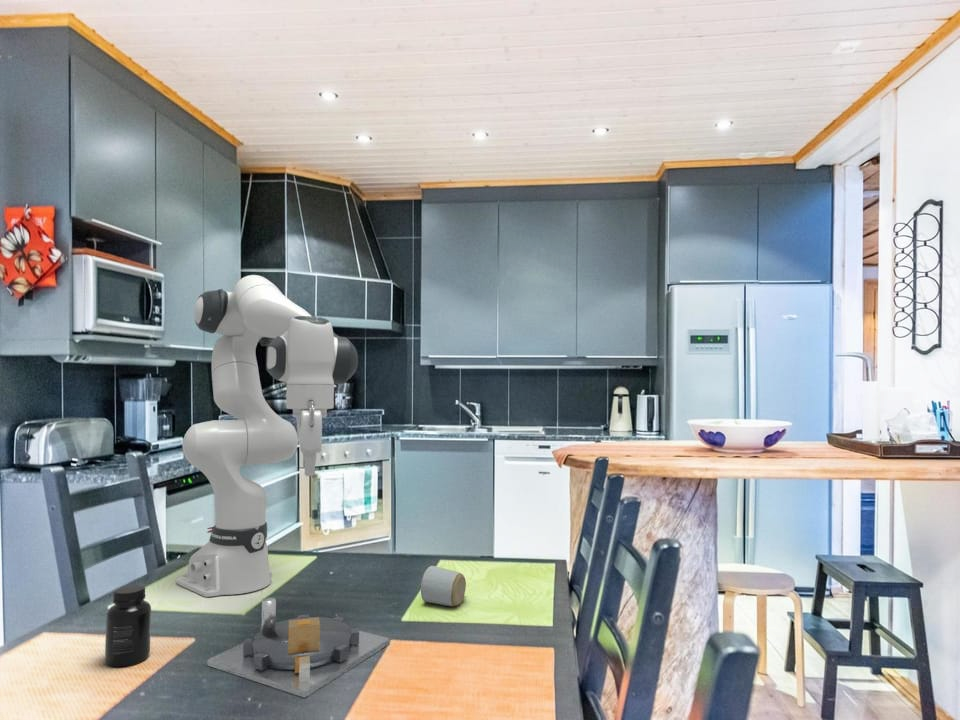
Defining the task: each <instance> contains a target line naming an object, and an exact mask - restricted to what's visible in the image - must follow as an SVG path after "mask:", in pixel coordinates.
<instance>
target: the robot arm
mask: <svg viewBox="0 0 960 720" xmlns="http://www.w3.org/2000/svg"><path fill="white" fill-rule="evenodd" d="M193 307H194V309H193V317H194V322H195V325H196V327H197V328H198V329H199V330H200V331H203V332H206V333H209V334H218V335H221V336H220V337H218V338H217V339H216V340H215V342H214V344H213V348H212V355H211V381H212V392H213V393H212V394H213V401H214V403H215V405H216V406H217V407H218V408H219V409H220V410H221V411H223V412H224V413H227V414H228V415H231V416H233V417H235V418H236V419H217V420H216V419H214V420H207V421H204V422H199V423H194V424H192V425H191V426H190V427H189V428H188V430H187V431H186V433H184V437H183V439H182V453H183V455H184V457H185V459H186V460H187V462H189V464H191V466H192V467H195V468H196V469H197V470H199V471H200V472H201V473H203V475H204V476H205V477H206V478H207V480H208V482H209V484H210V485H211V488H212V490H213V496H214V502H215V504H214V506H215V523H214V524H215V525H214V526H212V527H211V526H210V527H207V528H206V529H207V530H208V531H206V533H207V534H209V533H211V534H210V537H209V539H208V540H209V541H208V542H207V543H205V544H204V545H202V547H200V548H199V549H198V550H197V551H195V553H193V554H192V555H191V556H190V558H189V561H188V566H187V573H184V574H183V575H181V576H179V577H178V578H176V580H175V584H177V585H179V586H180V587H183V588H185V589H187V590H189V591H192V592H193V593H196V594H198V595H200V596H202V597H204V598H208V597H210V598H211V597H218V596H224V595H225V596H226V595H227V596H229V595H241V594H247V593H252V592H256V591H259V590H262V589H265V588H266V587H267V586H269V585H270V584H271V583H272V578H271V576H272V570H271V569H270V563H269V561H270V560H269V552H268V551H269V550H268V543H267V542H266V541H267V537H268V523H267V521H266V507H267V506H266V504H267V503H266V502H267V501H266V499H267V494H266V491H265V489H264V487H263V486H262V485H260V484H259V483H258V482H255V481H252V480H251V479H248V478H246V477H243V476H242V475H241V468H242V467H243V466H246V467H247V466H259V465H260V466H261V465H272V464H276V463H281V462H283V461H288V460H290V459H291V458H292V457H293V456H294V454H295V453H296V450H297V449H298V445H299V448H300V452H301V453H302V460H303V461H302V465H303V469H304V475H305V476H306V477H314V476H315V474H316V463H317V454H319V453H321V452H322V448H323V447H322V445H323V419H324V418H327V417H328V410H330V409H331V410H332V409H334V407H335V406H334V403H335V401H334V399H335V398H334V397H335V396H334V395H335V384H336V385H344V384H345V383H346V382H347V381H349V380H350V379H351V378H352V377H353V375H354V374H355V373H356V371H357V369H358V365H359V355H358V352H357V348H356V347H355V345H354V344H353V343H352V342H351V341H350V339H348V337H345V336H340V335H338V334H336V333H335V332H334V329H333V325H332V322H331V321H330V320H328V319H327V318H325V317H321V316H320V317H318V316H315V315H314V314H313V313H311V312H310V311H308V310H306V309H304V308H302V307H301V306H299V305H298V304H296V303H295V302H293V301H292V300H290V299H289V298H288V297H287V296H285V295H284V294H283V293H282V291H281V290H280V289H279V287H277V286H276V285H275V284H274V283H273V282H271V281H270V280H269V279H267V278H266V277H264V276H262V275H259V274H258V275H257V274H250V275H246V276H244V277H241V278H240V279H239V280H238V281H237V283H236V284H235V286H234V289H233V291H226V290H223V288H220V289H215V290H207V291H204V292H203V293H201V294H200V295H199V296H198V298H197V300H196V302H195V305H194V306H193ZM258 343H259V344H260V346H262V347H265V346H266V349H265V351H266V352H265V370H266V371H267V373H269V375H270V376H271V377H272V378H273V379H275V380H276V381H280V382H285V383H286V389H285V390H286V393H285V394H286V397H285V398H286V399H285V402H286V403H285V408H286V409H287V410H292V417H293V418H295V420H296V428H295V426H294V425H293V424H292V423H291V422H290V421H288V420H287V419H284V418H282V417H281V416H280V415H278V414H277V413H276V412H275V411H274V410H273V409H272V408H271V407H270V405H269V404H268V402H267V401H266V398H265V397H264V394H263V390H262V389H263V388H262V383H261V380H260V379H261V378H260V373H259V366H258V360H257V355H256V348H257V345H258Z"/></svg>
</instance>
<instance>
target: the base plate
mask: <svg viewBox="0 0 960 720" xmlns="http://www.w3.org/2000/svg"><path fill="white" fill-rule="evenodd" d="M390 641H391V638H388V637H386V636H382V635H376V634H373V633H370V632H365V631H361V630H359V644H351V647H350V649H349V650H348V658H347V659H345V660H343V661H342V662H337V661H331V662H329V663H326V664H323V665H319V666H315V667H310V656H306V657H299V673H295V669H275V668H270V667H268V668H266V669H264V670H259V669H256V668H254V659H253V658H252V654H250V655H243V643H244V642H242V643H240V644H238V645H235V646H233V647H232V648H229V649H227V650H225V651H222V652H221V653H219V654H216V655H214V656H211V657H210V658H208V659H207V660H206V661H207V663H206V664H207V666H208V667H211V668H214V669H217V670H219V671H223V672H225V673H228V674H232V675H234V676H238V677H240V678H244V679H246V680H249V681H252V682H256V683H259V684H262V685H264V686H268V687H270V688H273V689H277V690H279V691H282V692H286V693H288V694H292V695H295V696H298V697H301V698H304V699H305V698H307V697H308V696H310V695H312V694H313V693H315V692H317V691H318V690H320V689H322V687H324V686H326V685H328V684H329V683H331V682H332V681H334V680H335V679H337V678H339V677H340V676H342V675H343V674H345V673H346V672H347V671H350V670H351V669H352V668H355V667H356V666H357V665H359V664H361V663H362V662H364V661H366V660H367V659H368V658H369V657H371V656H373V655H374V654H376V653H378V652H380V651H382V650H383V649H385V647H388V645H390V644H391V643H390Z"/></svg>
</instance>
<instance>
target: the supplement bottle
mask: <svg viewBox="0 0 960 720" xmlns="http://www.w3.org/2000/svg"><path fill="white" fill-rule="evenodd" d="M145 599H146V586H144V585H137V584H134V585H133V584H132V585H127V586H123V587H122V586H121V587H119V588H116V589H115V590H113V598H112V603H113V605H112V606H111V607H109V608H108V609H107V612H106V615H105V645H104V647H105V650H104V655H105V657H104V661H105V664H106V665H107V666H109V667H113V668H123V667H129V666H133V665H137V664H139V663H141V662H143V661H145V660H146V659H147V658H148V657H149V656H150V653H151V635H152V634H151V629H152V627H151V626H152V623H151V622H152V606H151V604H150V603H149V602H148V601H146V600H145Z"/></svg>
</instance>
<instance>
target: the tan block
mask: <svg viewBox="0 0 960 720" xmlns="http://www.w3.org/2000/svg"><path fill="white" fill-rule="evenodd" d="M316 617H317V618H307V619H298V620H289V619H288V620H289V626H288V655H295V654H303V653H312V652H319V645H320V621H319V617H320V616H316Z"/></svg>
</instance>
